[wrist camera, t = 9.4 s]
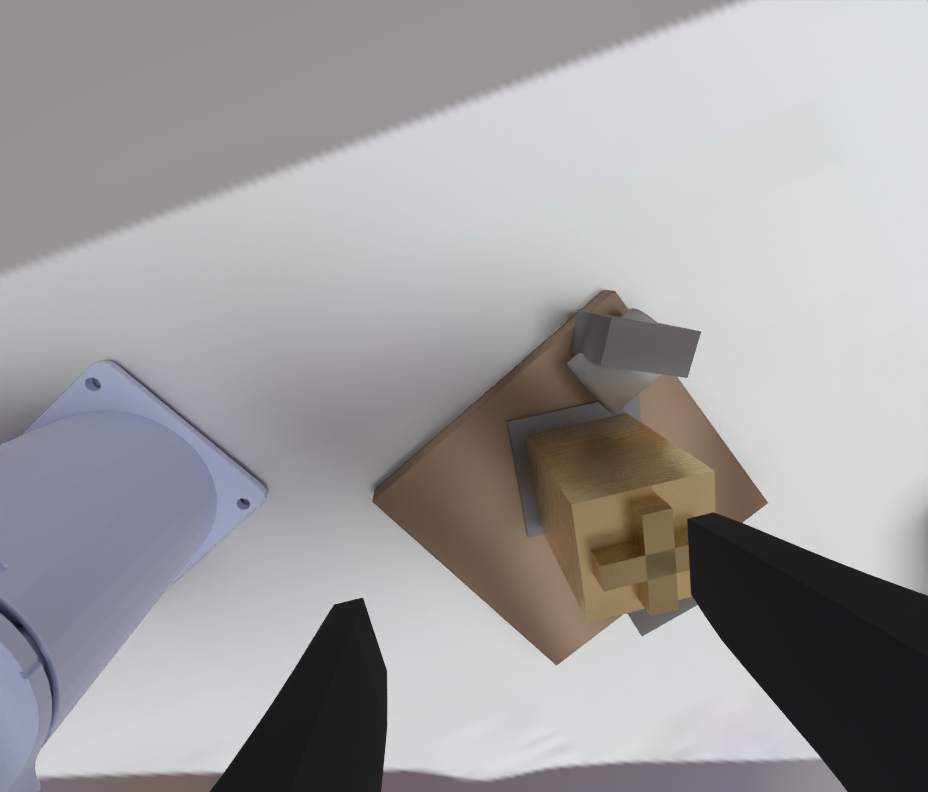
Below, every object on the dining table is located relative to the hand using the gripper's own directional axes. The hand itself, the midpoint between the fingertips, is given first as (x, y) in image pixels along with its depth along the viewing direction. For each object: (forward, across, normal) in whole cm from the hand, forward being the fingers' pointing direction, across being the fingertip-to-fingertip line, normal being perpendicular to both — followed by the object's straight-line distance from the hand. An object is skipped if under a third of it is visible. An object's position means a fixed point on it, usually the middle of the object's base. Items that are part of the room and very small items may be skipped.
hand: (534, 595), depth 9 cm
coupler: (+9, -4, +2) cm, 10 cm away
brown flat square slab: (+10, -4, +4) cm, 11 cm away
